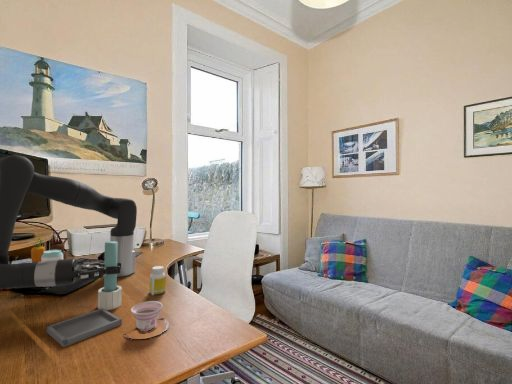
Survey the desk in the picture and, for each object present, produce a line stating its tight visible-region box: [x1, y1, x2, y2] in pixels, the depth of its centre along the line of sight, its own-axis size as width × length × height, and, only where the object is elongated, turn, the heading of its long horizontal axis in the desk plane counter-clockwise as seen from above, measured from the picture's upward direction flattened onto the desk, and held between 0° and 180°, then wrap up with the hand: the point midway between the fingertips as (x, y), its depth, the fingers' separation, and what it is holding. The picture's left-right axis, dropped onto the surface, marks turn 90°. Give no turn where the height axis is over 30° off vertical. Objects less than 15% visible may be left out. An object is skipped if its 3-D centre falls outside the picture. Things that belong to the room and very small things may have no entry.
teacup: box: [123, 300, 170, 339], centre depth 76 cm, size 12×12×6 cm
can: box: [41, 249, 63, 261], centre depth 111 cm, size 7×7×12 cm
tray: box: [45, 308, 123, 348], centre depth 74 cm, size 14×11×2 cm
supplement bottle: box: [149, 265, 167, 296], centre depth 100 cm, size 5×5×10 cm
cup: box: [97, 285, 123, 311], centre depth 88 cm, size 7×7×6 cm
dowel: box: [103, 241, 118, 292], centre depth 88 cm, size 4×4×20 cm
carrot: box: [30, 237, 47, 262], centre depth 120 cm, size 5×5×15 cm
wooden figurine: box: [50, 235, 68, 259], centre depth 128 cm, size 7×6×15 cm
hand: (120, 267), depth 89 cm, fingers closed on dowel, 3 cm apart
